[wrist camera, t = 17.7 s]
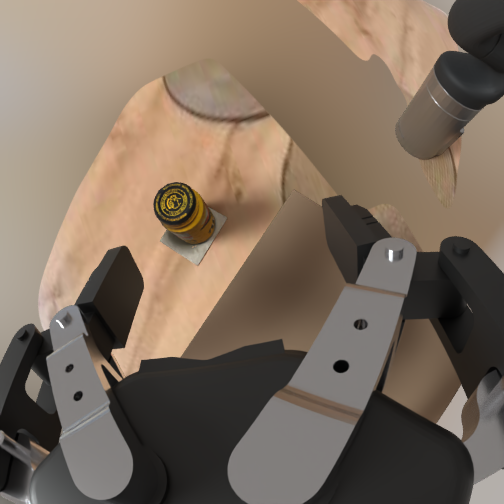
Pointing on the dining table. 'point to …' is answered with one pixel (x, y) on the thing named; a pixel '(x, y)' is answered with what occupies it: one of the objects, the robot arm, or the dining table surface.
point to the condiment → (186, 220)
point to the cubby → (315, 310)
